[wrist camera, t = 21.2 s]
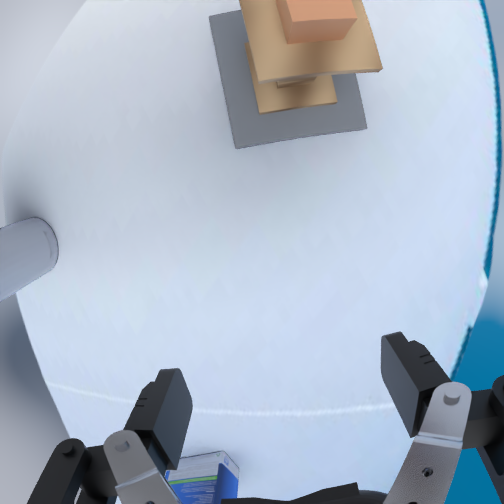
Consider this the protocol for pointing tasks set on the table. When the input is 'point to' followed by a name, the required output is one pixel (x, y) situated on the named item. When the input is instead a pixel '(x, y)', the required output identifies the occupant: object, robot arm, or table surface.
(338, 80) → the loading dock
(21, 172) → the table surface
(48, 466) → the robot arm
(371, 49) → the wooden pedestal
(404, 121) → the table surface
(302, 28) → the cube
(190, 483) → the string lights box
